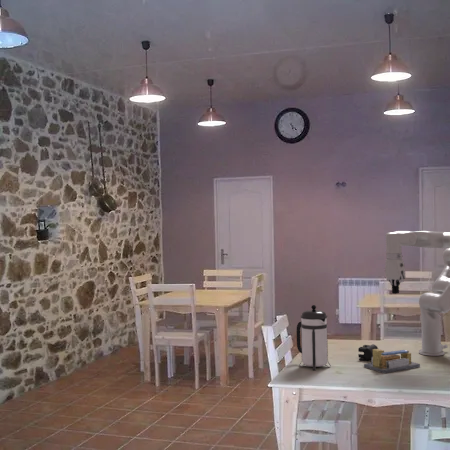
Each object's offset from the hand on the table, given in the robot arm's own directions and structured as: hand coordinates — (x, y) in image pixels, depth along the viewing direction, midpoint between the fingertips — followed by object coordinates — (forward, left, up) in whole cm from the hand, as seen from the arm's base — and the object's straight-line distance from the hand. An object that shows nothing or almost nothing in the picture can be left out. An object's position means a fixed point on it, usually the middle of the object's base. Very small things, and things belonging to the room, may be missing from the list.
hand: (395, 293), depth 313 cm
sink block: (+14, +11, -33) cm, 38 cm away
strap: (+12, +11, -27) cm, 32 cm away
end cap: (+12, -8, -33) cm, 36 cm away
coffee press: (+45, -10, -33) cm, 57 cm away
